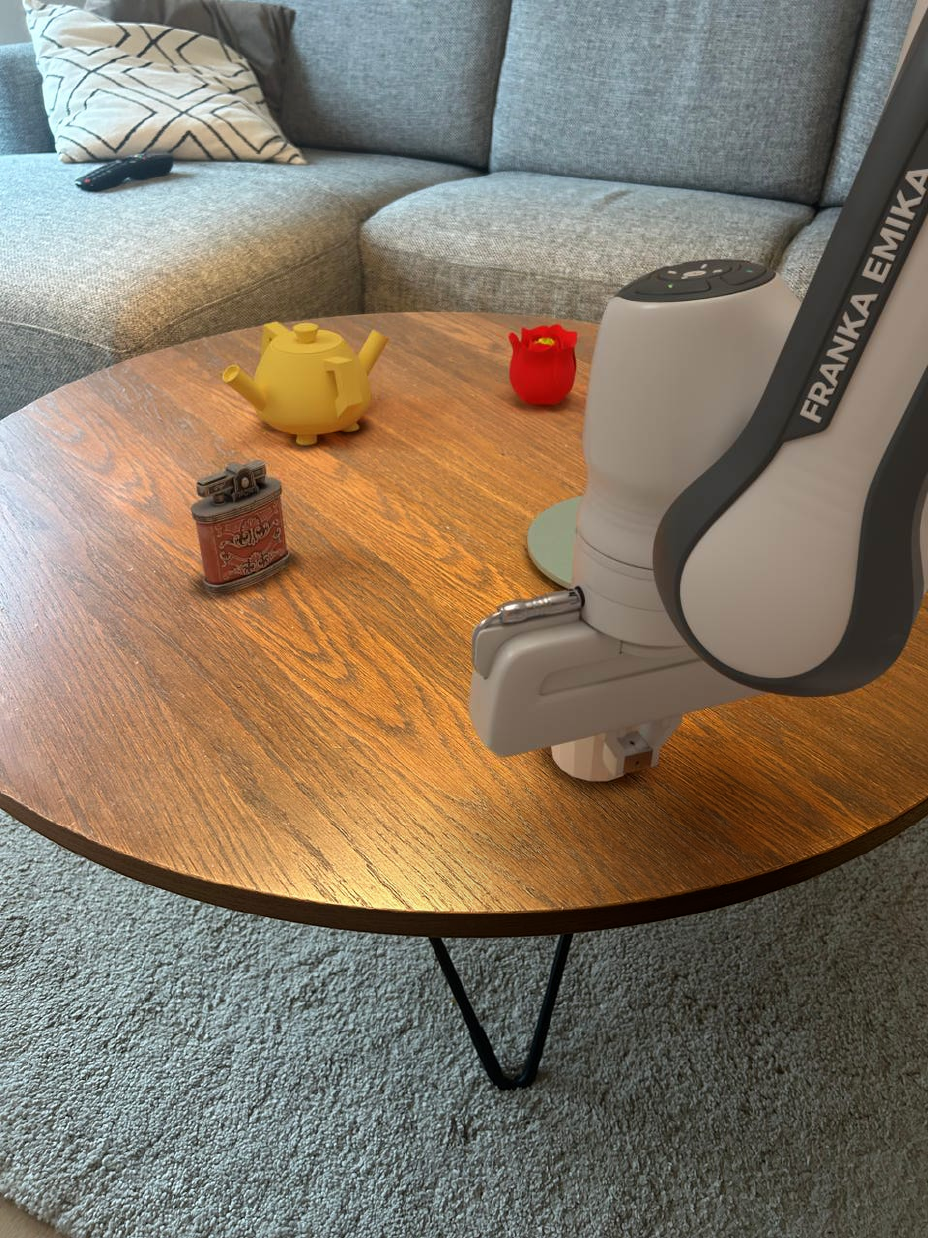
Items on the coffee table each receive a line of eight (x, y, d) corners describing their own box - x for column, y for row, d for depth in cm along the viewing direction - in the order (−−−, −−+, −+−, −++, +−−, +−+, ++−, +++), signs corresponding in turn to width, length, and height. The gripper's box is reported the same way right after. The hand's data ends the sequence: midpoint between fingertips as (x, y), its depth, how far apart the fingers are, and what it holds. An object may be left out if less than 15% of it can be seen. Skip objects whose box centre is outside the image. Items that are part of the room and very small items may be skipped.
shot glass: (661, 741, 68) (673, 659, 64) (617, 803, 63) (628, 718, 59) (571, 706, 71) (577, 625, 67) (523, 763, 66) (527, 679, 62)
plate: (776, 589, 84) (779, 574, 83) (579, 631, 79) (580, 615, 78) (669, 493, 97) (671, 479, 97) (496, 523, 93) (496, 509, 92)
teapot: (276, 480, 99) (263, 372, 93) (194, 423, 111) (177, 323, 105) (436, 428, 110) (434, 327, 103) (346, 380, 121) (339, 287, 115)
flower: (569, 418, 112) (574, 348, 108) (501, 412, 113) (502, 343, 109) (577, 391, 118) (581, 324, 114) (512, 386, 120) (514, 319, 115)
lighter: (275, 549, 89) (262, 445, 83) (298, 563, 87) (286, 458, 81) (196, 584, 84) (176, 476, 78) (218, 600, 82) (200, 490, 76)
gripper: (494, 645, 48) (489, 844, 56) (849, 570, 54) (799, 760, 62) (451, 578, 53) (452, 770, 61) (781, 516, 59) (743, 699, 67)
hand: (629, 764), depth 62 cm, fingers closed
